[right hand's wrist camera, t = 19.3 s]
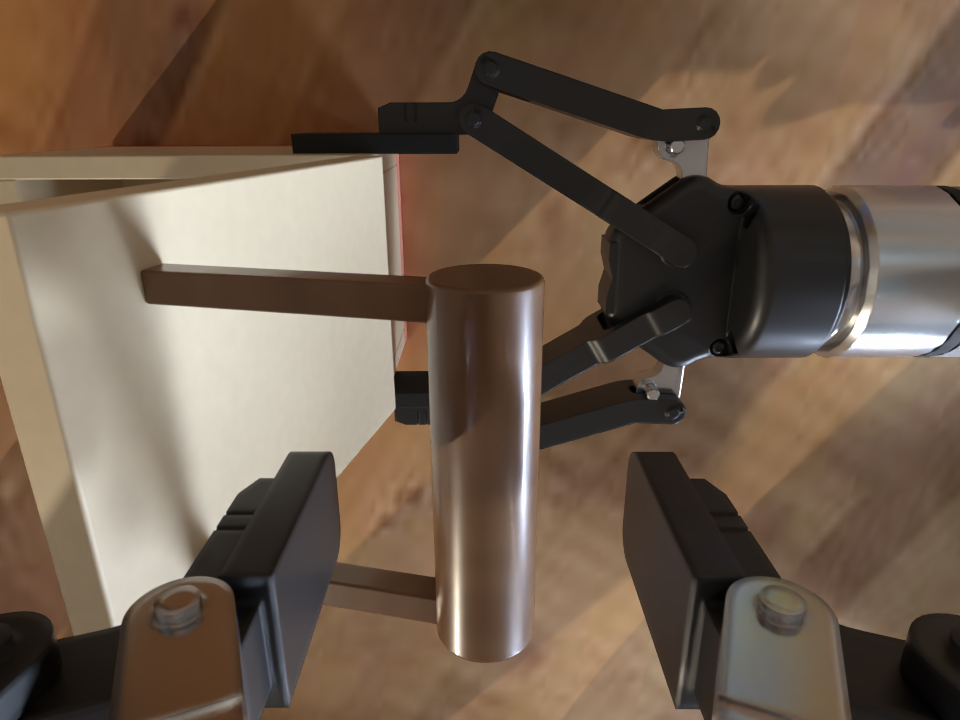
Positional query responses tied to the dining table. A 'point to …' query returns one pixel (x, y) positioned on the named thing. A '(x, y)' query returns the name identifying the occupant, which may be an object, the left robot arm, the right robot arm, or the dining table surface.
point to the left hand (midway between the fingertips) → (313, 274)
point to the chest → (154, 164)
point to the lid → (262, 385)
